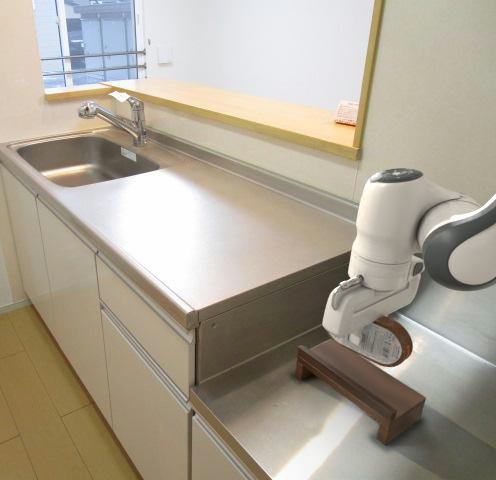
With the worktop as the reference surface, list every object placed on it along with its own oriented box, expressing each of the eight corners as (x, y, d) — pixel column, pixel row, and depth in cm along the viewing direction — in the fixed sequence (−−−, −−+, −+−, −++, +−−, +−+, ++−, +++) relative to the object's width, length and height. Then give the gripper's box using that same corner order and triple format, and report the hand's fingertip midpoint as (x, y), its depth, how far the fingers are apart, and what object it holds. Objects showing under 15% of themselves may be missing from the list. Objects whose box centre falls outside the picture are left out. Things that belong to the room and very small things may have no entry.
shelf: (329, 357, 94) (333, 329, 91) (420, 419, 79) (429, 388, 76) (294, 375, 89) (298, 346, 86) (384, 445, 74) (392, 413, 71)
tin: (407, 370, 76) (419, 327, 72) (399, 378, 74) (411, 334, 70) (327, 331, 86) (334, 292, 83) (318, 337, 84) (325, 297, 81)
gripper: (352, 295, 65) (339, 370, 71) (432, 259, 75) (415, 328, 81) (318, 277, 70) (309, 349, 76) (398, 246, 80) (384, 312, 86)
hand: (364, 338), depth 79 cm, fingers closed on tin, 3 cm apart
